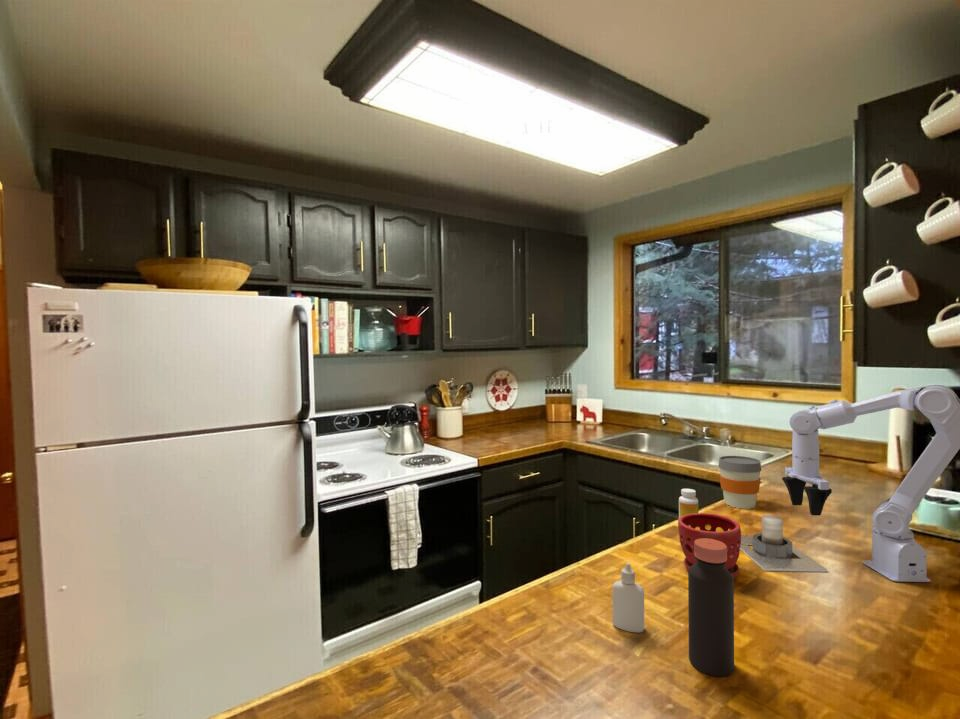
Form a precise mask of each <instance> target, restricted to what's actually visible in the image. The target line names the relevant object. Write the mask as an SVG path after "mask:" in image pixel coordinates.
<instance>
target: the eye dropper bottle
mask: <svg viewBox="0 0 960 719" xmlns="http://www.w3.org/2000/svg"><path fill="white" fill-rule="evenodd" d="M620 574H621V576H620V577H621V578H620V579H621V580H617V581H615V582H614V583H613V584H612V598H611V599H612V625H613V626H614V627H615V628H618V629H619V630H623V631H626V632H630V633H643V632H644V630H645V591H644V588H643V587H642V586H641V585H640V584H639V583H637V582H636V577H635V576H636V575H635V574H636V571H635V570H634V569H632V568H631V563H630V562H626V563H625V566H624V567H623V568H621V573H620Z"/></svg>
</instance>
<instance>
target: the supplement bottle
mask: <svg viewBox="0 0 960 719" xmlns="http://www.w3.org/2000/svg"><path fill="white" fill-rule="evenodd" d="M680 494H681V496H679V497H678V519H679V518H680V517H682V516H684V515H687V514H694V513H699V499H698V497H696V496H697V495H696V494H697V492H696V489H692V488H682V489H680Z"/></svg>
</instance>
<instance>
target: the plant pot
mask: <svg viewBox="0 0 960 719" xmlns="http://www.w3.org/2000/svg"><path fill="white" fill-rule="evenodd" d="M677 523H678V524H677V525H678V526H677V527H678V528H677V529H678V536H679V542H680V547H681V549H682V553H683V555H684V557H685V558H684V560H683V564H684V566H685V567H686V568H685V569H687V570H689V568H690V567H691V566H692V565H694V564H695V563H696V559H695V555H694V541H695V540H696V539H701V538H708V539H714V540H718V541H721V542H723V543H724V544H726V545H727V563H726V564H725V568H726V569H727V570H728V571H729V572H730V573H731V574H732V576H733V579H735V577H737V576H738V575H739V573H740V567H739V564H738V560H739V558H740V553H741V552H740V551H741V550H740V545H741V535H742V530H741V525H740V524H739V522H737V521H736V520H734V518H733V519H732V518H731V517H728V516H724V515H720V514H716V513H706V512H705V513H704V512H698V513H694V514H687V515H684V516H682V517H680V518H679V517H678V521H677ZM706 526H709V527H710V529H708V528H706ZM697 527H698V528H699V529H697ZM718 528H720V529H722V531H717V529H718Z"/></svg>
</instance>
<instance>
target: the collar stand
mask: <svg viewBox="0 0 960 719" xmlns="http://www.w3.org/2000/svg"><path fill="white" fill-rule="evenodd" d="M748 545H753V546H752V547H751V546H748ZM740 549H741V550H742V551H743V552H742V551H741V550H740V551H741V552H742V553H743V554H745V555H746V556H747V557H748V556H749V557H750V558H751V561H753V562H754V563H755V564H756V565H757V566H758V567H760V568H761V569H762V570H763V571H764V572H805V573H806V572H811V573H814V572H815V573H818V572H819V573H828V568H826V567H825V566H823V565H822V564H820V563H819V562H817V561H816V560H815V559H813V558H812V557H810V556H809V555H807V554H806V553H804V552H803V551H802V550H800V549H799V548H797V547H796V546H795V545H794V544H793V541H792V540H790V539H788V538H786V537H783V545H771V544H767V543H764V542H762V533H756V534H753V535H752V534H751V535H749V534H745V535H744V534H741V545H740ZM793 556H794V557H796V558H793ZM749 557H748V558H749Z"/></svg>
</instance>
